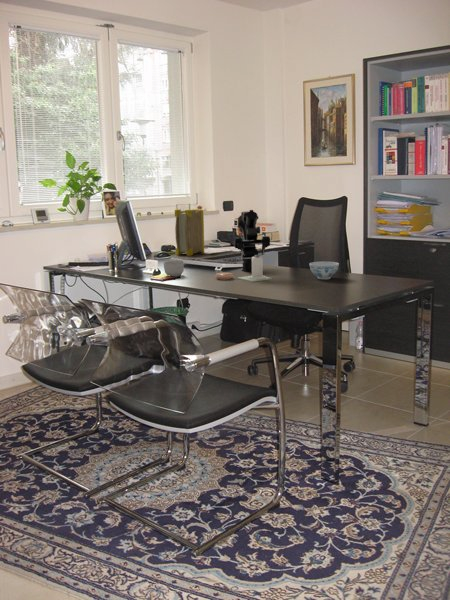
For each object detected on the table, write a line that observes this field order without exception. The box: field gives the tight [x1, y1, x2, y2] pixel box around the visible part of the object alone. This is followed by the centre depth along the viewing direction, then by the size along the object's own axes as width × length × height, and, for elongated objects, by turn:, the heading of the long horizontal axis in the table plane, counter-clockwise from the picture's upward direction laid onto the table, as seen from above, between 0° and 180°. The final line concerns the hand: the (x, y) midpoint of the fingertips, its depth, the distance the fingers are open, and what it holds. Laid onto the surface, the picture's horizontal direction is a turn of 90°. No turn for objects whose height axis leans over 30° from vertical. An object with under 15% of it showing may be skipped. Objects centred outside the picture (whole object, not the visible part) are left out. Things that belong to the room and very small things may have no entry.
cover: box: [248, 254, 267, 279], centre depth 355 cm, size 9×9×12 cm
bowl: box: [215, 272, 234, 281], centre depth 360 cm, size 9×9×2 cm
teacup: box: [163, 259, 185, 277], centre depth 374 cm, size 14×11×8 cm
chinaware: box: [309, 261, 340, 280], centre depth 354 cm, size 15×15×8 cm
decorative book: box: [174, 208, 205, 257], centre depth 459 cm, size 20×11×30 cm, turn 145°
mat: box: [237, 275, 273, 283], centre depth 358 cm, size 13×13×1 cm
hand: (253, 254), depth 362 cm, fingers open, 9 cm apart
